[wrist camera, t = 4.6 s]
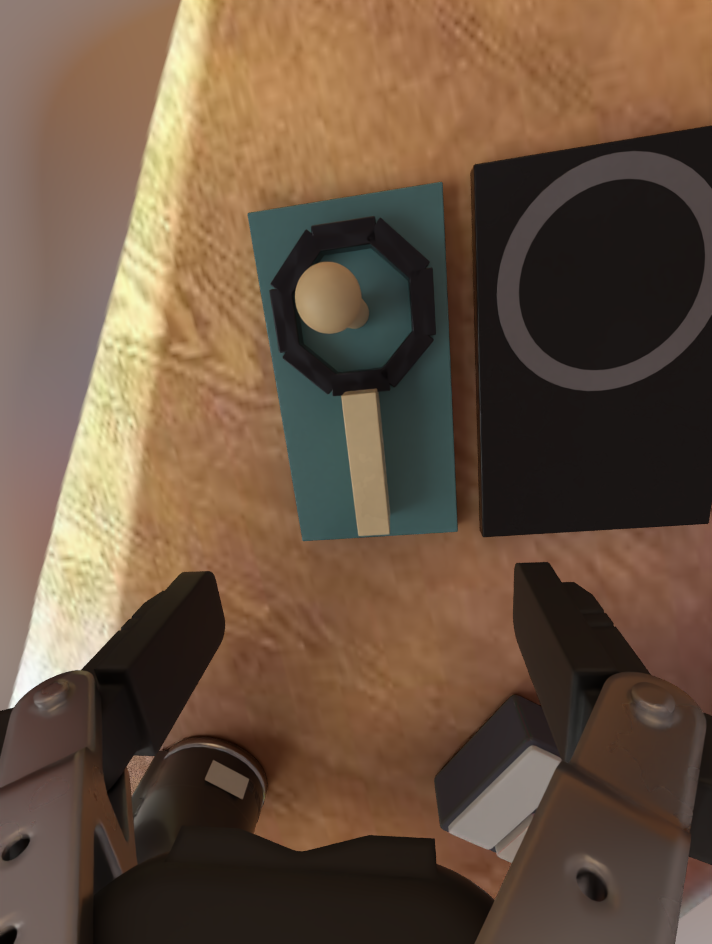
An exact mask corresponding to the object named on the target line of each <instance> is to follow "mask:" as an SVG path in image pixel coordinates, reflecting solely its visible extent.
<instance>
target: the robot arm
mask: <svg viewBox="0 0 712 944" xmlns="http://www.w3.org/2000/svg"><path fill="white" fill-rule="evenodd" d="M513 623H514V631H515V635H516V639H517V643H518V645H519V648H520V651H521V653H522V656H523V659H524V661H525V664H526V667H527V669H528V672H529V675H530V677H531V680H532V683H533V685H534V688H535V691H536V693H537V696H538V699H539V701H540V704H541V706H542V709H543V712H544V714H545V717H546V720H547V722H548V725H549V728H550V730H551V733H552V736H553V738H554V741H555V744H556V746H557V749H558V752H559V754H560V757H561V760H562V761H561V762H560V763H559V764H558V766H557V768H556V769H555V771H554V773H553V775H552V778H551V780H550V782H549V784H548V786H547V788H546V790H545V793H544V795H543V797H542V799H541V801H540V803H539V806H538V808H537V810H536V812H535V814H534V816H533V819H532V821H531V823H530V825H529V827H528V829H527V832H526V834H525V836H524V838H523V840H522V842H521V845H520V847H519V849H518V851H517V853H516V855H515V857H514V860H513V862H512V864H511V866H510V868H509V870H508V873H507V875H506V877H505V879H504V881H503V883H502V886H501V888H500V890H499V892H498V894H497V896H496V899H495V900H494V899H493V898H492V897H491V896H490V895H489V894H487V893H486V892H485V891H484V890H483V889H481V888H480V887H478V886H477V885H476V884H474V883H473V882H472V881H470V880H469V879H467V878H465V877H464V876H462V875H460V874H458V873H456V872H454V871H453V870H451V869H448V868H446V867H443V866H441V865H438V864H436V851H435V839H431V838H412V837H393V836H374V835H368V836H364V837H360V838H356V839H352V840H348V841H344V842H340V843H336V844H332V845H328V846H324V847H320V848H316V849H312V850H308V851H295V850H292V849H289V848H287V847H284V846H282V845H279V844H277V843H275V842H272V841H270V840H267V839H265V838H262V837H260V836H257V835H255V834H254V831H255V827H256V824H257V822H258V819H259V815H260V812H261V808H262V806H263V803H264V800H265V796H266V793H267V778H266V775H265V773H264V770H263V769H262V767H261V765H260V764H259V763H258V762H257V760H256V759H255V758H254V757H253V756H252V755H250V754H249V753H248V752H247V751H245V750H244V749H242V748H240V747H239V746H237V745H235V744H232V743H230V742H227V741H224V740H221V739H216V738H209V737H196V738H190V739H186V740H183V741H181V742H178V743H177V744H175V745H174V746H172V747H171V748H170V749H169V750H167V751H159V750H160V748H161V746H162V744H163V743H164V741H165V739H166V737H167V736H168V734H169V732H170V731H171V729H172V727H173V725H174V724H175V722H176V720H177V718H178V717H179V715H180V713H181V711H182V710H183V708H184V706H185V705H186V703H187V701H188V699H189V698H190V696H191V694H192V692H193V691H194V689H195V687H196V685H197V684H198V682H199V680H200V679H201V677H202V675H203V673H204V672H205V670H206V668H207V666H208V665H209V663H210V661H211V660H212V658H213V656H214V654H215V653H216V651H217V649H218V647H219V646H220V644H221V642H222V639H223V636H224V631H225V618H224V613H223V609H222V605H221V600H220V596H219V592H218V587H217V583H216V579H215V576H214V574H213V573H212V572H210V571H200V572H182V573H181V574H180V575H179V576H178V577H177V578H176V579H175V580H174V581H173V582H172V583H171V585H170V586H169V587H168V588H167V589H166V590H165V591H162V592H160V593H159V594H157V595H156V596H154V597H153V598H151V599H150V600H148V601H147V602H145V603H144V604H143V605H142V606H141V607H140V608H139V609H138V610H137V611H136V612H135V614H134V615H133V616H132V619H129V620H128V621H127V622H126V623H125V624H124V625H123V626H122V627H121V631H118V632H117V633H116V634H115V635H114V636H113V637H112V638H111V639H110V640H109V641H108V642H107V643H106V644H105V645H104V646H103V647H102V648H101V650H100V651H99V652H98V653H97V654H96V655H95V656H94V657H93V658H92V659H91V660H90V661H89V662H88V663H87V664H86V665H85V666H84V668H83V669H82V670H75V671H69V672H65V673H62V674H59V675H56V676H54V677H52V678H50V679H48V680H46V681H44V682H42V683H40V684H39V685H37V686H36V687H34V688H33V689H32V690H30V691H29V692H28V693H27V694H25V695H24V696H23V697H22V698H21V699H20V700H19V701H18V703H17V704H16V705H15V707H14V708H11V709H6V710H2V711H0V944H675V941H676V934H677V928H678V921H679V915H680V908H681V902H682V895H683V889H684V882H685V876H686V869H687V863H688V856H689V857H692V858H694V859H697V860H700V861H703V862H705V863H708V864H711V865H712V716H711V715H708V714H706V713H703V712H702V710H701V708H700V707H699V706H698V704H697V703H696V702H695V701H694V700H693V699H692V698H691V697H690V696H689V695H688V694H686V693H685V692H684V691H682V690H681V689H680V688H678V687H677V686H675V685H673V684H671V683H669V682H667V681H665V680H663V679H661V678H658V677H655V676H652V675H651V674H650V673H649V671H648V670H647V669H646V667H645V666H644V665H643V663H642V662H641V661H640V659H639V658H638V656H637V655H636V654H635V652H634V651H633V650H632V648H631V647H630V645H629V644H628V643H627V641H626V640H625V639H624V637H623V636H622V634H621V633H620V632H619V630H618V629H617V628H616V627H614V625H613V622H612V621H611V619H610V618H609V617H608V615H607V614H606V613H604V610H603V608H602V607H601V606H600V604H599V603H598V602H597V600H596V599H595V597H594V596H593V595H592V594H591V593H589V592H588V591H586V590H585V589H583V588H582V587H580V586H579V585H577V584H576V583H575V582H561V581H560V579H559V577H558V576H557V574H556V573H555V571H554V570H553V568H552V567H551V565H550V564H549V563H548V562H536V563H516V565H515V569H514V597H513ZM133 755H139V756H155V757H154V758H153V760H152V762H151V764H150V765H149V767H148V769H147V771H146V772H145V774H144V776H143V778H142V779H141V781H140V783H139V785H138V786H137V788H136V790H135V792H134V793H133V795H132V797H131V786H130V776H129V772H128V770H127V767H126V766H127V765H128V763H129V762H130V760H131V759H132V757H133Z"/></svg>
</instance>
